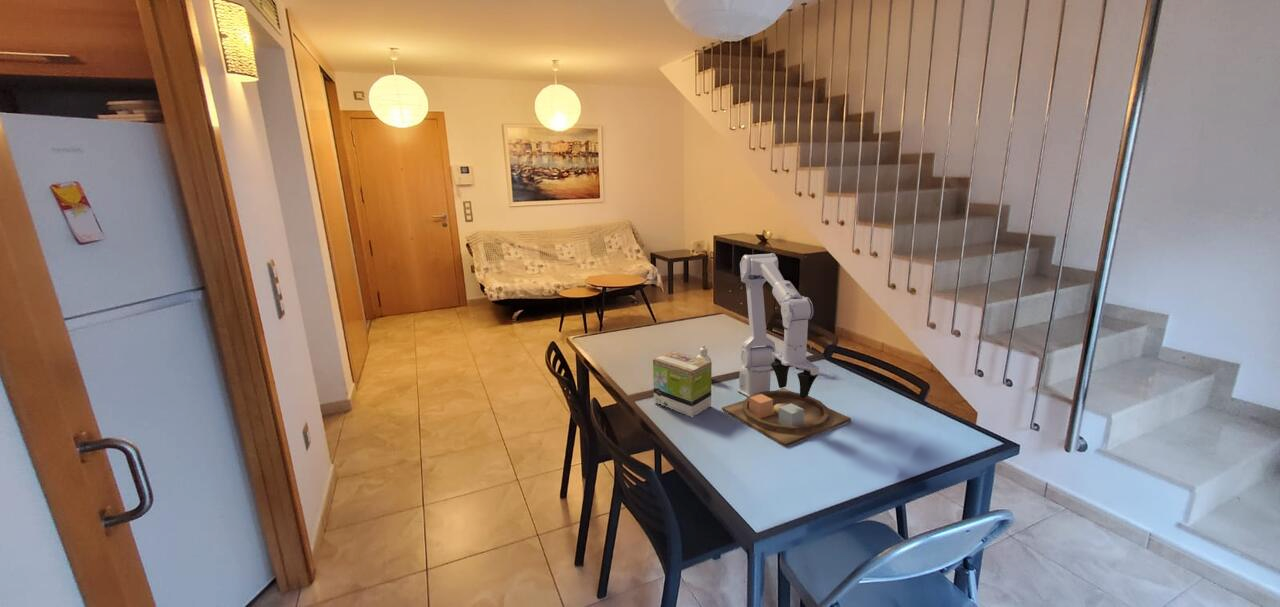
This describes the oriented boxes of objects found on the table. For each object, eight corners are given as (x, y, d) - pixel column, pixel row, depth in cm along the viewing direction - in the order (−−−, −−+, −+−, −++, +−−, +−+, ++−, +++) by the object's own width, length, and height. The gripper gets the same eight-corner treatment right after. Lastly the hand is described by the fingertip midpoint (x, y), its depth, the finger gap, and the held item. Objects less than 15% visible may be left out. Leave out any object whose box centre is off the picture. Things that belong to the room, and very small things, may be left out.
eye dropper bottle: (708, 374, 177) (708, 341, 174) (711, 381, 172) (711, 347, 169) (695, 375, 177) (695, 342, 174) (698, 382, 172) (698, 348, 169)
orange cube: (749, 412, 147) (749, 397, 146) (761, 408, 149) (761, 393, 148) (760, 418, 143) (760, 403, 142) (772, 414, 145) (773, 399, 144)
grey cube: (778, 422, 140) (779, 407, 139) (790, 418, 142) (791, 403, 141) (791, 429, 136) (792, 413, 135) (803, 425, 139) (804, 409, 137)
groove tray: (721, 410, 151) (721, 402, 150) (783, 390, 163) (783, 383, 162) (785, 447, 130) (785, 438, 129) (850, 421, 142) (851, 413, 141)
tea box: (652, 404, 156) (651, 358, 153) (673, 393, 163) (672, 349, 160) (692, 418, 146) (691, 370, 143) (712, 406, 153) (712, 360, 150)
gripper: (764, 339, 138) (762, 386, 141) (806, 354, 126) (803, 405, 129) (783, 334, 141) (781, 380, 145) (825, 348, 129) (822, 398, 132)
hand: (793, 391), depth 137 cm, fingers open, 7 cm apart
